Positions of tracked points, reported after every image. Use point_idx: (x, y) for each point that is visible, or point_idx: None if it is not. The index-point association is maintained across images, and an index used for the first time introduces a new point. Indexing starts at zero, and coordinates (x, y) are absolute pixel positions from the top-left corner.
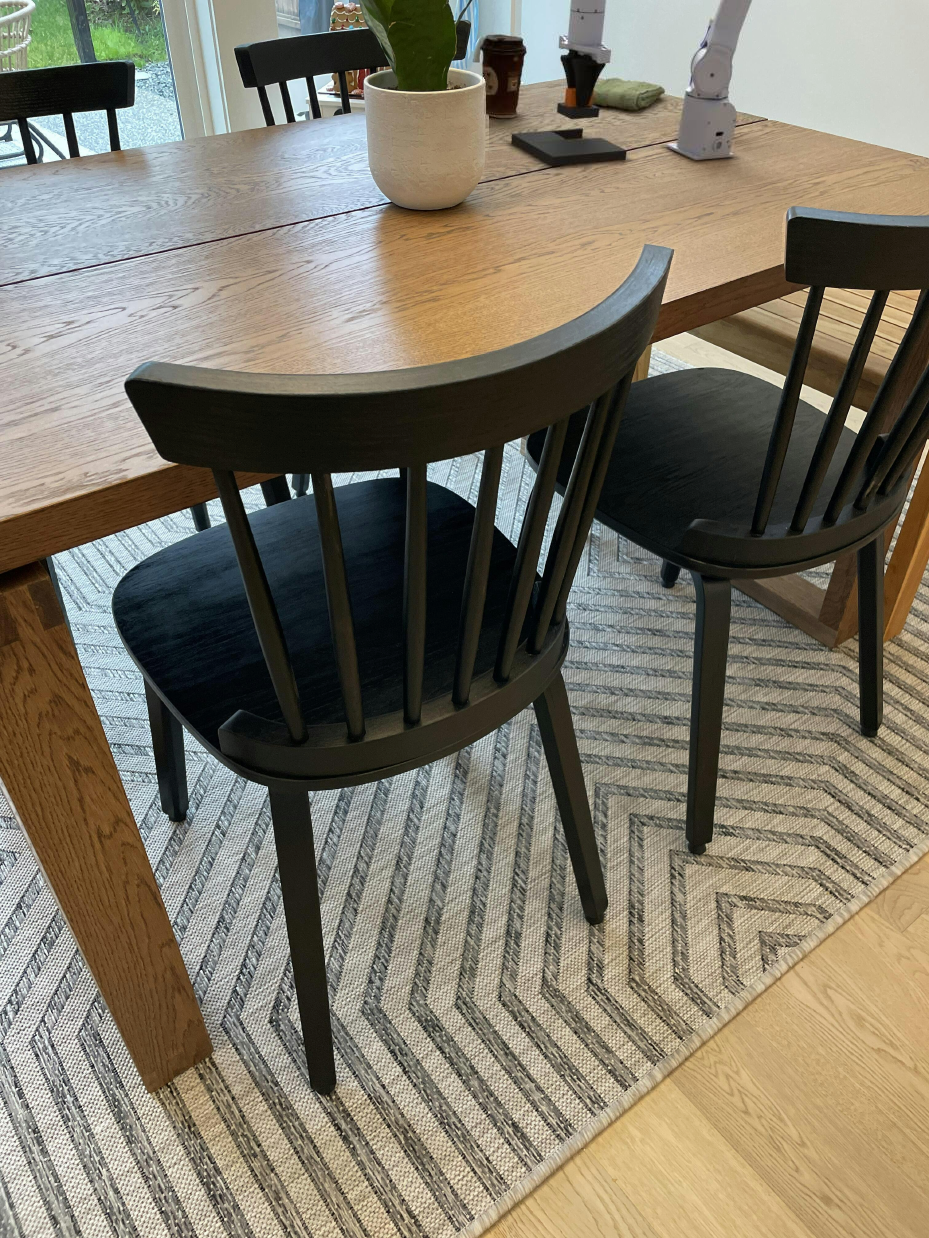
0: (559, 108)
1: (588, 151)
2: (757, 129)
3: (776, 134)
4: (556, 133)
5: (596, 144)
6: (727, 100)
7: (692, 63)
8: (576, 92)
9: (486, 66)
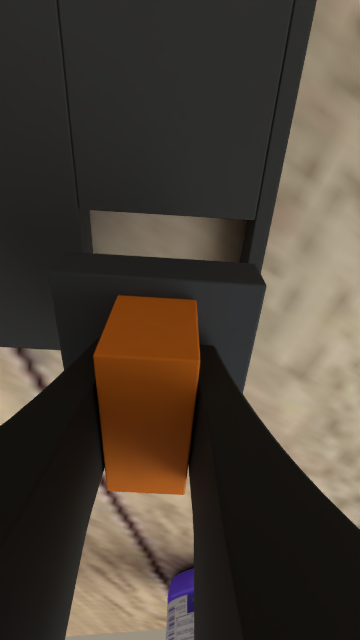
0: (227, 271)
1: None
2: (146, 607)
3: (107, 610)
4: (249, 245)
5: None
6: None
7: None
8: (80, 380)
9: None
